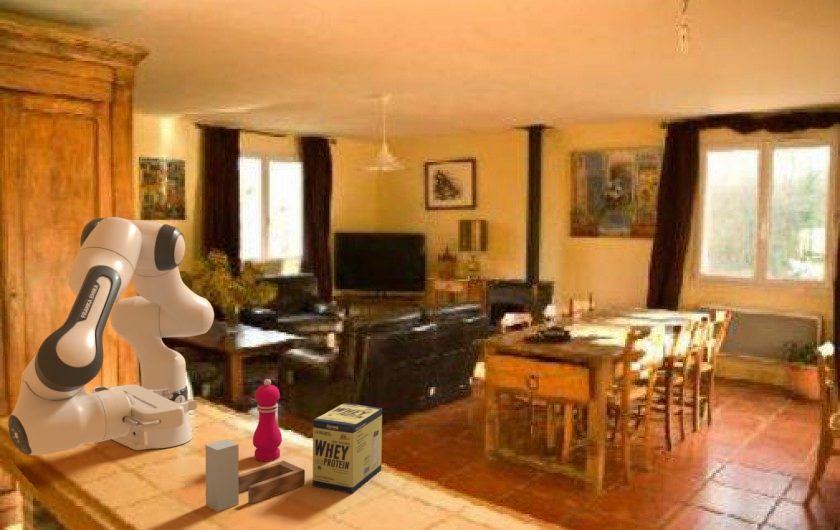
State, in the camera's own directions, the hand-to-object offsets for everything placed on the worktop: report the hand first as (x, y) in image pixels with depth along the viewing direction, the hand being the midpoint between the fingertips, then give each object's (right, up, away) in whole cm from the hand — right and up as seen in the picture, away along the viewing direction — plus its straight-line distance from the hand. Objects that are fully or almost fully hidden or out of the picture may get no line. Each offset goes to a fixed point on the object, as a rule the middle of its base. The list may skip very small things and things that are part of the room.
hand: (182, 398), depth 132 cm
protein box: (+31, -23, +23) cm, 45 cm away
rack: (+13, -23, +16) cm, 31 cm away
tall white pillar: (+6, -24, +7) cm, 26 cm away
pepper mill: (+9, -22, +35) cm, 42 cm away
